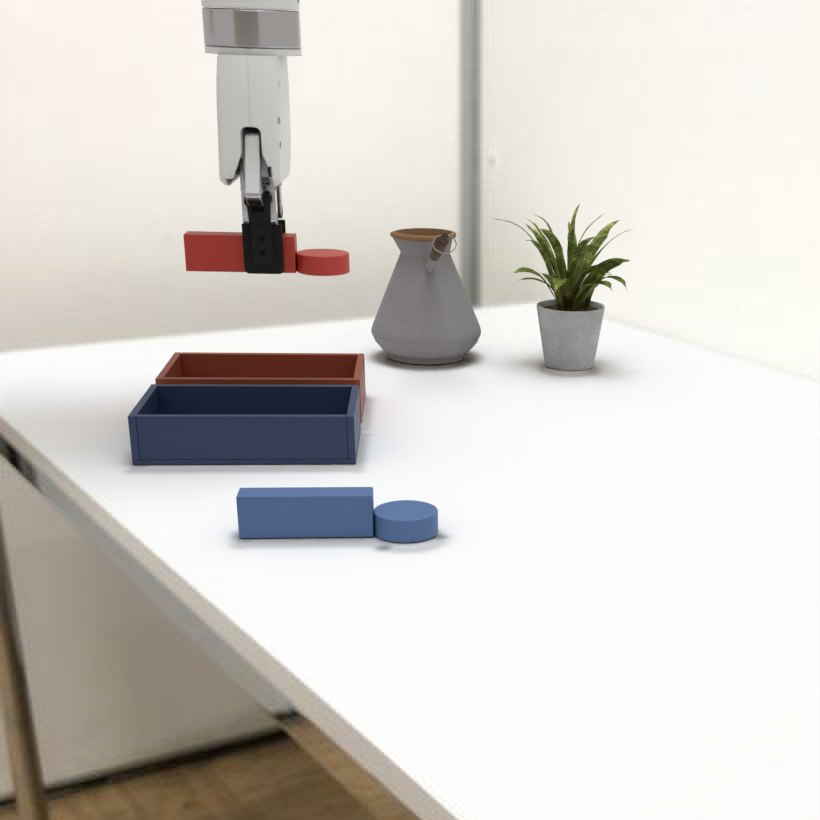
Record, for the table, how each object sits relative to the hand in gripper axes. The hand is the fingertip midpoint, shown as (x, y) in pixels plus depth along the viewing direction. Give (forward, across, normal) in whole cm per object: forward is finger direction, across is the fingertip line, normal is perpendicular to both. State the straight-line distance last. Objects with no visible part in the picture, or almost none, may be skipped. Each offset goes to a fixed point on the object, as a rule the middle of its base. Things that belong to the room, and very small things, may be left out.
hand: (266, 268), depth 115 cm
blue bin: (+13, +9, -1) cm, 16 cm away
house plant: (+13, -20, +27) cm, 36 cm away
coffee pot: (+13, -19, +14) cm, 27 cm away
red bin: (+13, -3, -1) cm, 13 cm away
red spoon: (0, 0, 0) cm, 0 cm away
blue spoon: (+13, +30, +7) cm, 33 cm away
